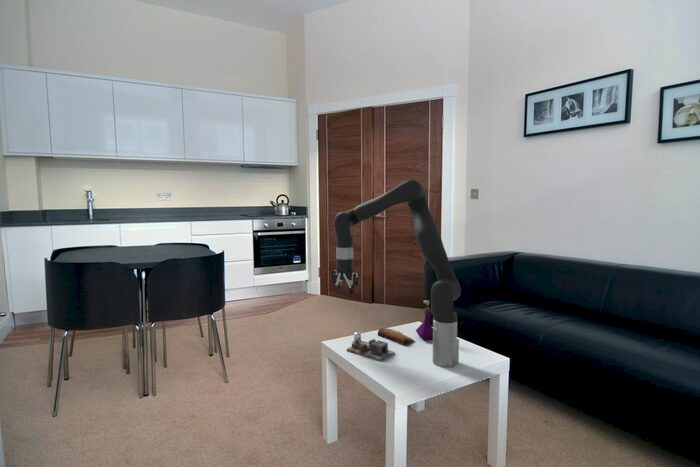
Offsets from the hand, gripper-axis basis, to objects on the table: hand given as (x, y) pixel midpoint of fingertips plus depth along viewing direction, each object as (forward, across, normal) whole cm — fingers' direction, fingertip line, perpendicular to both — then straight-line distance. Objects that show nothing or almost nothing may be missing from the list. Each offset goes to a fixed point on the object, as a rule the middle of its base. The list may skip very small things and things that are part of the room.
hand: (344, 294), depth 173 cm
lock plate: (+23, -14, 0) cm, 27 cm away
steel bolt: (+21, -9, 0) cm, 23 cm away
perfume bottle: (+23, -24, -30) cm, 45 cm away
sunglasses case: (+23, -13, -22) cm, 34 cm away
